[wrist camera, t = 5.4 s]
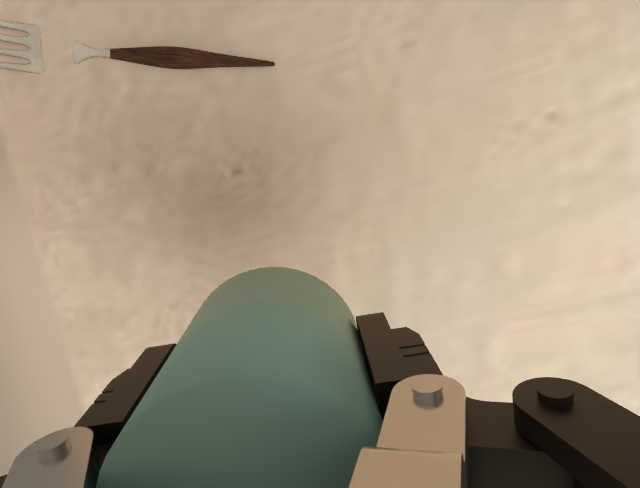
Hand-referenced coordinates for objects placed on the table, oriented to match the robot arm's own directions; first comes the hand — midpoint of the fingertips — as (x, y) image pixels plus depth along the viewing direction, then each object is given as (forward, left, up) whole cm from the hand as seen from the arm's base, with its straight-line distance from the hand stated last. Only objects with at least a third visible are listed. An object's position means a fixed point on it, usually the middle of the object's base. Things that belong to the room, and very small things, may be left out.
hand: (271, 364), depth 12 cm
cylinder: (0, 0, -1) cm, 1 cm away
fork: (-12, -7, -17) cm, 22 cm away
